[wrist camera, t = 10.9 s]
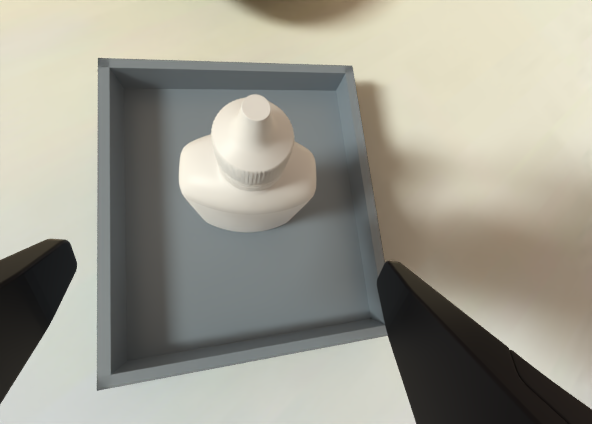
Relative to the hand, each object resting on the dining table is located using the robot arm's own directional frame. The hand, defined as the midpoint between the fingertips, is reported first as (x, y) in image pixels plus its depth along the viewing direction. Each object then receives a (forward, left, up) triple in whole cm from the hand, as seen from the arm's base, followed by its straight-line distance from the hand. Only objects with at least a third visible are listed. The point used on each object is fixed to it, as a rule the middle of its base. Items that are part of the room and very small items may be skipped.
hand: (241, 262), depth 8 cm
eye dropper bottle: (+4, -1, -10) cm, 11 cm away
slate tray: (+4, -1, -11) cm, 11 cm away
